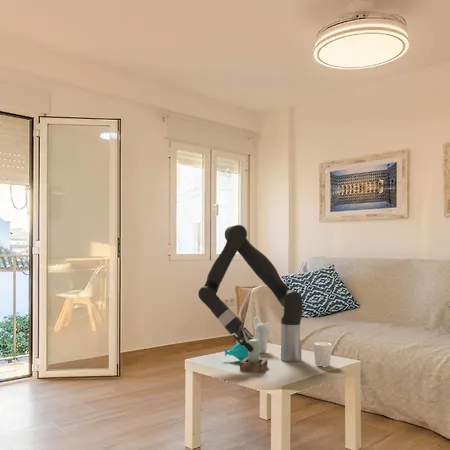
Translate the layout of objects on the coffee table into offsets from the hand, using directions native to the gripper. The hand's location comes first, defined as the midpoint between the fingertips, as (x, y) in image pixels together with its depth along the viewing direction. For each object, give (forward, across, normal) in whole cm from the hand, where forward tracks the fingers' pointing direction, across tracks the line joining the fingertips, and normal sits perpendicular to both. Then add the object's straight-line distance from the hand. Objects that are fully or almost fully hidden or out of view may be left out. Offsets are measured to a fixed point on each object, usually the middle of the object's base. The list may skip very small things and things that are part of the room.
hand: (254, 348), depth 213 cm
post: (+6, 0, +6) cm, 8 cm away
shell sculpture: (+3, +34, +10) cm, 36 cm away
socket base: (+6, 0, +6) cm, 9 cm away
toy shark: (0, +11, +13) cm, 17 cm away
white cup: (+26, +18, -13) cm, 34 cm away
